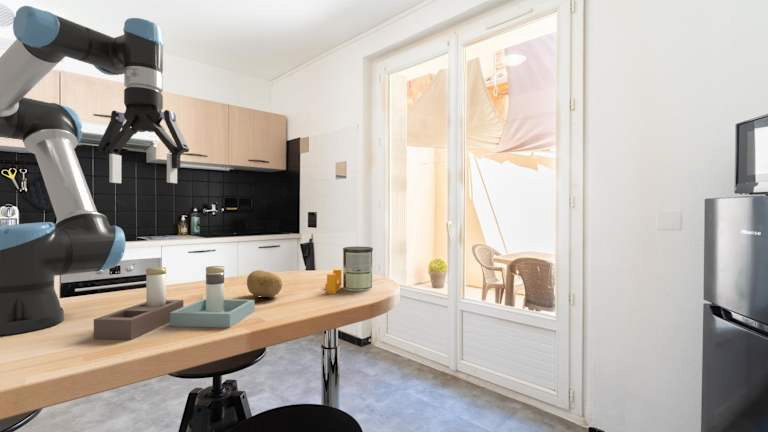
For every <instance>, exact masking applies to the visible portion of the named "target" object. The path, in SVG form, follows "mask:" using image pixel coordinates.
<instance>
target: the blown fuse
mask: <svg viewBox="0 0 768 432" xmlns="http://www.w3.org/2000/svg"><path fill="white" fill-rule="evenodd" d="M205 284H206V285H205V299H206V312H216V313H224V299H225V266H223V265H212V266H206V267H205Z"/></svg>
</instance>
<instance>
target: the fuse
mask: <svg viewBox="0 0 768 432" xmlns="http://www.w3.org/2000/svg"><path fill="white" fill-rule="evenodd" d="M145 274H146V276H145V278H146V279H145V280H146V284H145V288H146V289H145V290H146V291H145V292H146V294H145V295H146V296H145V297H146V300H145V302H146V307H161V306H164V305H166V300H167V299H166V298H167V291H166V290H167V277H166V276H167V267H162V266H161V267H160V266H159V267H157V266H156V267H149V268H146V269H145Z"/></svg>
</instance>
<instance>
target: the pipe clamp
mask: <svg viewBox="0 0 768 432" xmlns="http://www.w3.org/2000/svg"><path fill="white" fill-rule="evenodd" d="M342 270H343V268H342V269H341V268H334V269H333V270H332V271H333V272H332V273H327V274H326V282H325V286H324V287H325V291H326V294H336V293H337V292H338V291H339V290H340V289H341V288H342V287H343V282H342V281H343V276H342V274H343V271H342ZM338 289H339V290H338Z"/></svg>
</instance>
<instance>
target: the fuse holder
mask: <svg viewBox="0 0 768 432" xmlns="http://www.w3.org/2000/svg"><path fill="white" fill-rule="evenodd" d="M182 307H184V299H166V305H164V306H161V307H146V301H144V302H140V303H138V304H136V305H135V304H134V305H132V306H130V307H126V308H124V309H121V310H118V311H114V312H112V313H111V312H110V313H107V314H105V315H103V316H100V317H97V318H94V319H93V339H94V340H122V341H124V340H126V341H132V340H134V339H136V338H139V337H141V336H143V335H145V334H147V333H149V332H152V331H154V330H155V329H156V330H157V329H159V328H160V327H162V326H164V325H166V324H170V312H173V311H175V310H178V309H180V308H182Z"/></svg>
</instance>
